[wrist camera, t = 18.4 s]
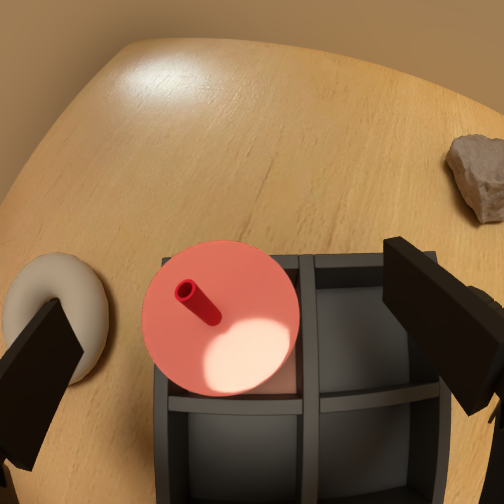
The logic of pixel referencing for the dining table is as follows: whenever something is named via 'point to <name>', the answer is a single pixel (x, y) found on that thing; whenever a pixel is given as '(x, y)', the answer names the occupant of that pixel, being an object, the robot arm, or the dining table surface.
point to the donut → (71, 296)
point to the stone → (479, 174)
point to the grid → (315, 408)
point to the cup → (220, 318)
